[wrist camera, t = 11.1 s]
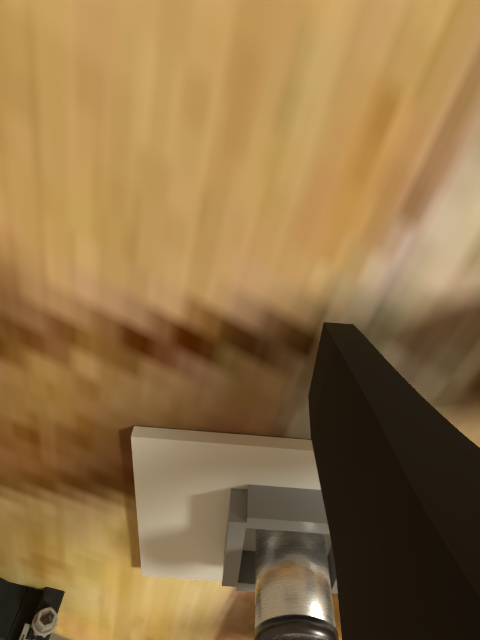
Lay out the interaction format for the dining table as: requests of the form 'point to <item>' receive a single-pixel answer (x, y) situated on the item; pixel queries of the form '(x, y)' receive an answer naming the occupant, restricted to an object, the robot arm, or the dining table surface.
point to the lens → (292, 587)
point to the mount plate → (221, 501)
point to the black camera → (28, 611)
